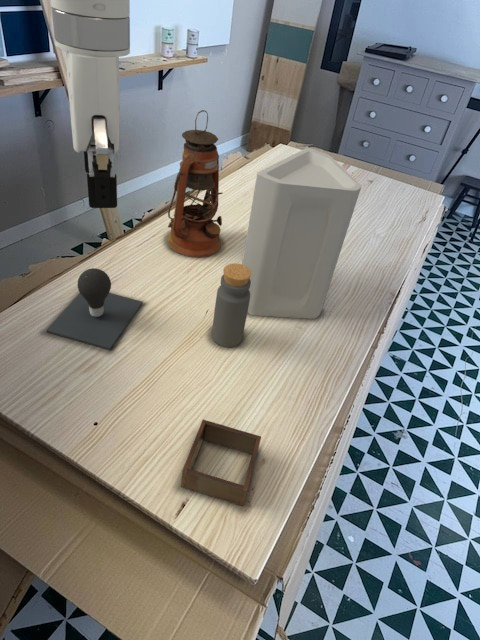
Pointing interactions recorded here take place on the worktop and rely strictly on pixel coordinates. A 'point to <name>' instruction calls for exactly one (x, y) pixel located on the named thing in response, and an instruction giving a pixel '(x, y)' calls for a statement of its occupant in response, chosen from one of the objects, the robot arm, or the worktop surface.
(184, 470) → the crate
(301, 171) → the triangular concrete planter
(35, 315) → the worktop surface
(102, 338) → the mat
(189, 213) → the lantern
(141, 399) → the worktop surface
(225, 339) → the bottle
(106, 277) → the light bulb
